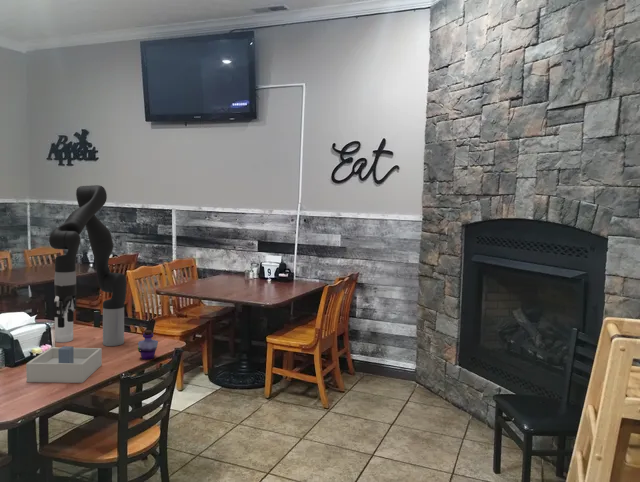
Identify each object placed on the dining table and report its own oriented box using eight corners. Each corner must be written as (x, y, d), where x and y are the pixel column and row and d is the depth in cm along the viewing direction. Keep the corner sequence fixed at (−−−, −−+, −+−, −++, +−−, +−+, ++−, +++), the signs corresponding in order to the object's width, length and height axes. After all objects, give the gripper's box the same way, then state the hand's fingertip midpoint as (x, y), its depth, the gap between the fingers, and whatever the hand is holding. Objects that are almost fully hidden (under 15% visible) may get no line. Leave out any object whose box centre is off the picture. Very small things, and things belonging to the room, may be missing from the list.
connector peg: (63, 371, 204) (62, 346, 203) (73, 371, 204) (73, 346, 203) (58, 374, 200) (58, 349, 199) (69, 374, 200) (69, 349, 199)
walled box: (51, 364, 211) (51, 347, 211) (101, 364, 212) (101, 348, 212) (26, 382, 191) (26, 363, 191) (82, 382, 193) (82, 364, 192)
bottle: (77, 338, 247) (77, 276, 245) (65, 343, 240) (65, 279, 237) (62, 337, 249) (62, 275, 246) (50, 341, 241) (50, 277, 239)
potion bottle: (135, 356, 225) (135, 329, 224) (155, 353, 229) (155, 327, 228) (140, 362, 218) (140, 334, 216) (160, 359, 222) (161, 331, 221)
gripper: (63, 279, 205) (63, 319, 207) (46, 286, 191) (47, 329, 193) (82, 279, 206) (83, 320, 207) (67, 286, 192) (68, 329, 193)
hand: (65, 324), depth 200 cm, fingers open, 8 cm apart
